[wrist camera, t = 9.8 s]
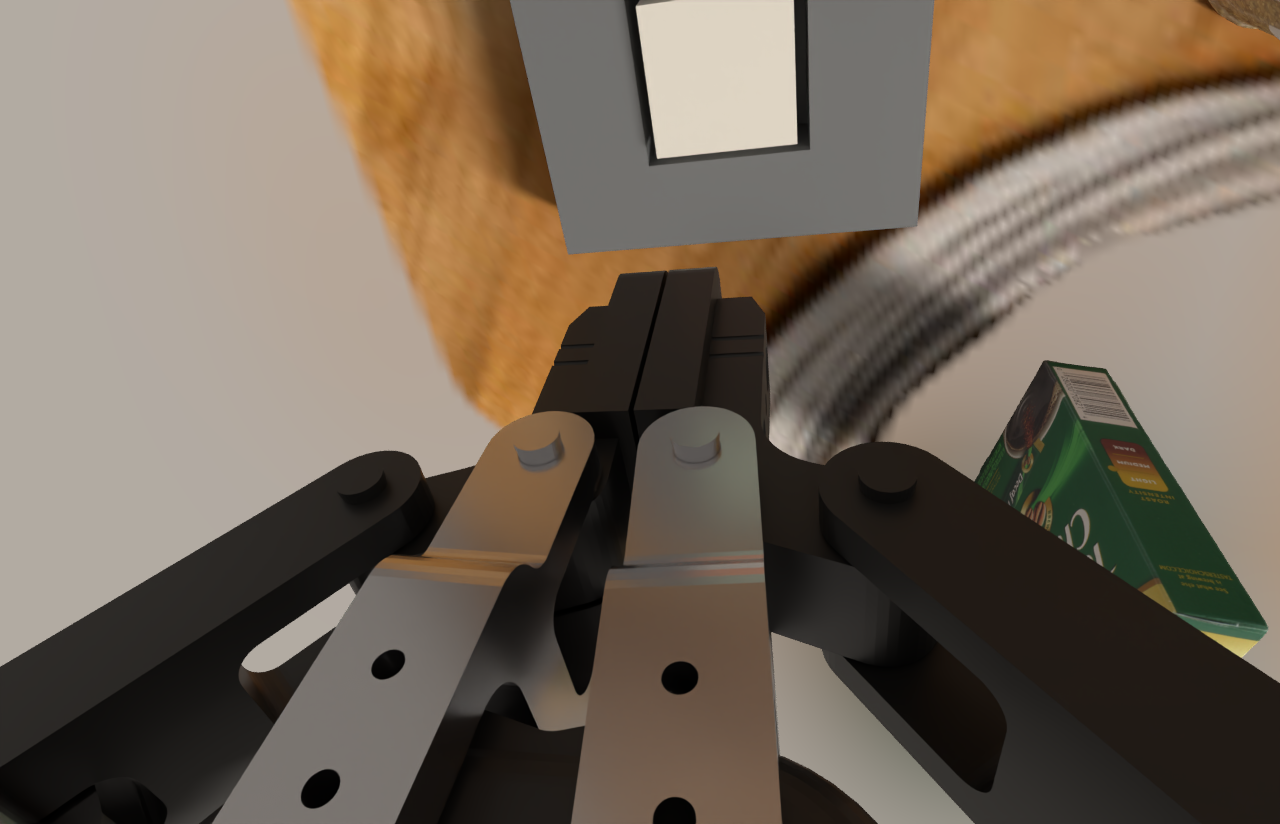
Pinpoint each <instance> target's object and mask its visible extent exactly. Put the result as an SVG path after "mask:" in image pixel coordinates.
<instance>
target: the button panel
mask: <svg viewBox="0 0 1280 824" xmlns="http://www.w3.org/2000/svg"><path fill="white" fill-rule="evenodd" d="M639 1H640V0H510V3H511V8H512V12H513V16H514V21H515V25H516V30H517V34H518V38H519V43H520V47H521V51H522V56H523V60H524V64H525V69H526V73H527V77H528V82H529V86H530V90H531V95H532V99H533V103H534V108H535V112H536V116H537V121H538V125H539V129H540V134H541V138H542V142H543V147H544V151H545V155H546V160H547V164H548V168H549V173H550V177H551V182H552V186H553V190H554V195H555V199H556V203H557V208H558V212H559V216H560V221H561V225H562V229H563V234H564V238H565V242H566V247H567V251H568V254H579V253H592V252H604V251H616V250H629V249H641V248H654V247H666V246H679V245H691V244H703V243H716V242H728V241H741V240H753V239H766V238H778V237H790V236H803V235H815V234H828V233H840V232H852V231H865V230H877V229H890V228H902V227H915V226H917V221H918V208H919V195H920V181H921V168H922V155H923V142H924V129H925V115H926V102H927V89H928V76H929V63H930V50H931V36H932V23H933V10H934V0H794V32H795V71H796V111H797V144H793V145H783V146H774V147H764V148H755V149H745V150H736V151H726V152H716V153H707V154H697V155H688V156H678V157H669V158H659V159H657V155H656V147H655V140H654V133H653V126H652V119H651V112H650V105H649V97H648V90H647V83H646V76H645V69H644V62H643V55H642V47H641V40H640V33H639V26H638V19H637V12H636V5H637V4H638V2H639Z"/></svg>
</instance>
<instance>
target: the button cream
mask: <svg viewBox="0 0 1280 824" xmlns="http://www.w3.org/2000/svg"><path fill="white" fill-rule="evenodd" d="M636 12H637V19H638V26H639V33H640V40H641V47H642V55H643V62H644V69H645V76H646V83H647V90H648V97H649V105H650V112H651V119H652V126H653V133H654V140H655V147H656V155H657V159H659V158H669V157H678V156H688V155H697V154H707V153H716V152H726V151H736V150H745V149H755V148H764V147H774V146H783V145H793V144H797V111H796V71H795V32H794V0H640V1H639V2H638V4H637V5H636Z"/></svg>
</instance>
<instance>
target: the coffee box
mask: <svg viewBox="0 0 1280 824" xmlns="http://www.w3.org/2000/svg"><path fill="white" fill-rule="evenodd" d="M974 482H975V483H977V484H978V485H980V486H981V487H983V488H984V489H986V490H987V491H989V492H990V493H992V494H993V495H995V496H996V497H998V498H999V499H1001V500H1002V501H1004V502H1006V503H1007V504H1009V505H1010V506H1012V507H1013V508H1015V509H1016V510H1018V511H1019V512H1021V513H1022V514H1024V515H1025V516H1027V517H1028V518H1030V519H1031V520H1033V521H1034V522H1036V523H1037V524H1039V525H1040V526H1042V527H1043V528H1045V529H1046V530H1048V531H1050V532H1051V533H1053V534H1054V535H1056V536H1057V537H1059V538H1060V539H1062V540H1063V541H1065V542H1066V543H1068V544H1069V545H1071V546H1072V547H1074V548H1075V549H1077V550H1078V551H1080V552H1081V553H1083V554H1084V555H1086V556H1087V557H1089V558H1090V559H1092V560H1094V561H1095V562H1097V563H1098V564H1100V565H1101V566H1103V567H1104V568H1106V569H1107V570H1109V571H1110V572H1112V573H1113V574H1115V575H1116V576H1118V577H1119V578H1121V579H1122V580H1124V581H1125V582H1127V583H1128V584H1130V585H1131V586H1133V587H1134V588H1136V589H1137V590H1139V591H1141V592H1142V593H1144V594H1145V595H1147V596H1148V597H1150V598H1151V599H1153V600H1154V601H1156V602H1157V603H1159V604H1160V605H1162V606H1163V607H1165V608H1166V609H1168V610H1169V611H1171V612H1172V613H1174V614H1175V615H1177V616H1178V617H1180V618H1181V619H1183V620H1185V621H1186V622H1188V623H1189V624H1191V625H1192V626H1194V627H1195V628H1197V629H1198V630H1200V631H1201V632H1203V633H1204V634H1206V635H1207V636H1209V637H1210V638H1212V639H1213V640H1215V641H1216V642H1218V643H1219V644H1221V645H1222V646H1224V647H1225V648H1227V649H1229V650H1230V651H1232V652H1233V653H1235V654H1236V655H1238V656H1239V657H1241V658H1242V657H1243V656H1244V655H1245V654H1246V653H1247V652H1248V651H1249V650H1250V649H1251V648H1252V647H1253V646H1254V645H1255V644H1256V643H1257V642H1258V641H1259V640H1260V639H1261V638H1262V637H1263V636H1264V635H1265V634H1266V632H1267V631H1268V627H1267V624H1266V622H1265V620H1264V619H1263V617H1262V616H1261V614H1260V612H1259V611H1258V609H1257V608H1256V606H1255V604H1254V603H1253V601H1252V599H1251V598H1250V596H1249V595H1248V593H1247V592H1246V590H1245V589H1244V587H1243V586H1242V584H1241V583H1240V581H1239V579H1238V577H1237V576H1236V574H1235V573H1234V571H1233V570H1232V568H1231V567H1230V565H1229V564H1228V562H1227V560H1226V559H1225V557H1224V555H1223V554H1222V552H1221V551H1220V549H1219V548H1218V546H1217V544H1216V543H1215V541H1214V540H1213V538H1212V537H1211V535H1210V533H1209V532H1208V530H1207V529H1206V527H1205V526H1204V524H1203V523H1202V521H1201V519H1200V518H1199V516H1198V515H1197V513H1196V511H1195V510H1194V508H1193V506H1192V505H1191V503H1190V501H1189V500H1188V499H1187V497H1186V495H1185V494H1184V492H1183V490H1182V489H1181V487H1180V486H1179V484H1178V483H1177V481H1176V479H1175V478H1174V477H1173V475H1172V474H1171V472H1170V470H1169V469H1168V467H1167V466H1166V464H1165V463H1164V461H1163V460H1162V458H1161V456H1160V454H1159V453H1158V451H1157V450H1156V448H1155V447H1154V445H1153V444H1152V442H1151V440H1150V439H1149V437H1148V435H1147V434H1146V433H1145V431H1144V429H1143V428H1142V426H1141V425H1140V423H1139V422H1138V420H1137V418H1136V417H1135V415H1134V413H1133V412H1132V410H1131V409H1130V407H1129V405H1128V403H1127V401H1126V399H1125V397H1124V396H1123V395H1122V393H1121V391H1120V389H1119V387H1118V386H1117V384H1116V383H1115V382H1114V381H1113V380H1112V378H1111V376H1110V375H1109V373H1108V371H1107V370H1106V369H1103V368H1096V367H1087V366H1079V365H1072V364H1065V363H1058V362H1053V361H1048V360H1047V361H1043V363H1042V365H1041V366H1040V368H1039V370H1038V372H1037V374H1036V376H1035V377H1034V379H1033V381H1032V382H1031V384H1030V386H1029V388H1028V389H1027V391H1026V393H1025V395H1024V396H1023V398H1022V400H1021V401H1020V404H1019V405H1018V406H1017V409H1016V411H1015V412H1014V414H1013V416H1012V417H1011V419H1010V421H1009V422H1008V424H1007V426H1006V428H1005V429H1004V431H1003V433H1002V435H1001V436H1000V438H999V440H998V442H997V443H996V445H995V447H994V449H993V450H992V452H991V454H990V456H989V457H988V458H987V459H986V461H985V463H984V465H983V466H982V468H981V470H980V473H979V475H978V476H977V478H976V480H975V481H974Z"/></svg>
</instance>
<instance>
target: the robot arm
mask: <svg viewBox="0 0 1280 824" xmlns="http://www.w3.org/2000/svg"><path fill="white" fill-rule="evenodd" d="M769 417H770V384H769V368H768V353H767V337H766V322H765V313H764V312H763V311H762V309H761V308H760V307H759V305H758V304H757V303H756V302H755V300H754V299H753V298H752V297H738V298H722V297H721V287H720V278H719V272H718V269H717V267H707V268H694V269H680V270H670V271H669V272H667V271H654V272H640V273H626V274H620V275H619V277H618V280H617V282H616V285H615V288H614V291H613V294H612V296H611V299H610V302H609V305H608V306H597V307H589V308H588V309H587V310H586V311H584V312H583V313H582V314H581V315H580V316H579V317H578V318H577V319H576V320H575V321H573V322H572V323H571V324H570V325H569V327H568V330H567V332H566V334H565V337H564V339H563V341H562V344H561V349H559V351H558V353H557V356H556V358H555V360H554V366H552V368H551V370H550V372H549V375H548V377H547V379H546V382H545V384H544V387H543V389H542V391H541V394H540V396H539V398H538V401H537V403H536V406H535V408H534V410H533V413H532V415H528V416H525V417H523V418H520V419H518V420H516V421H514V422H512V423H510V424H509V425H507V426H505V427H504V428H503V429H501V430H500V431H499V432H498V433H497V434H496V435H495V436H494V437H493V438H492V439H491V441H490V442H489V443H488V445H487V447H486V449H485V450H484V452H483V454H482V455H481V457H480V459H479V461H478V462H477V464H476V465H475V466H472V467H468V468H465V469H461V470H457V471H453V472H449V473H445V474H440V475H437V476H432V477H428V478H425V477H424V475H423V473H422V471H421V468H420V466H419V464H418V462H417V461H416V460H415V459H414V458H413V457H412V456H410V455H409V454H406V453H403V452H398V451H379V452H373V453H369V454H365V455H363V456H359V457H357V458H354V459H352V460H349V461H348V462H346V463H344V464H342V465H340V466H338V467H337V468H335V469H333V470H332V471H330V472H328V473H327V474H325V475H323V476H321V477H320V478H318V479H316V480H315V481H313V482H311V483H310V484H308V485H306V486H305V487H303V488H301V489H300V490H298V491H296V492H295V493H293V494H291V495H289V496H288V497H286V498H285V499H283V500H281V501H279V502H278V503H276V504H274V505H273V506H271V507H269V508H267V509H266V510H264V511H263V512H261V513H259V514H257V515H256V516H254V517H252V518H251V519H249V520H247V521H246V522H244V523H242V524H240V525H239V526H237V527H235V528H234V529H232V530H230V531H229V532H227V533H225V534H224V535H222V536H220V537H219V538H217V539H215V540H213V541H212V542H210V543H208V544H207V545H205V546H203V547H202V548H200V549H198V550H197V551H195V552H193V553H192V554H190V555H188V556H187V557H185V558H183V559H181V560H180V561H178V562H176V563H175V564H173V565H171V566H170V567H168V568H166V569H165V570H163V571H161V572H159V573H158V574H156V575H154V576H153V577H151V578H149V579H148V580H146V581H144V582H143V583H141V584H139V585H138V586H136V587H134V588H132V589H131V590H129V591H127V592H126V593H124V594H122V595H121V596H119V597H117V598H116V599H114V600H112V601H111V602H109V603H107V604H106V605H104V606H102V607H100V608H99V609H97V610H95V611H94V612H92V613H90V614H89V615H87V616H85V617H84V618H82V619H80V620H79V621H77V622H75V623H73V624H72V625H70V626H69V627H67V628H65V629H63V630H62V631H60V632H58V633H57V634H55V635H53V636H51V637H50V638H48V639H46V640H45V641H43V642H42V643H40V644H38V645H36V646H35V647H33V648H31V649H30V650H28V651H26V652H25V653H23V654H21V655H19V656H18V657H16V658H14V659H13V660H11V661H9V662H8V663H6V664H4V665H3V666H1V667H0V824H878V823H877V822H876V821H875V820H874V819H873V818H872V817H871V816H870V815H869V814H868V813H867V812H866V811H865V810H864V809H863V808H862V807H861V806H860V805H859V804H858V803H857V802H855V801H854V800H853V799H852V798H850V797H849V796H848V795H847V794H845V793H844V792H843V791H841V790H840V789H839V788H838V787H837V786H836V785H834V784H833V783H831V782H830V781H828V780H826V779H824V778H823V777H822V776H820V775H818V774H817V773H815V772H814V771H812V770H810V769H809V768H806V767H804V766H802V765H800V764H798V763H796V762H794V761H792V760H790V759H788V758H786V757H783V756H780V746H779V733H778V720H777V706H776V693H775V680H774V666H773V652H772V638H771V632H773V633H776V634H779V635H782V636H785V637H788V638H791V639H794V640H797V641H800V642H803V643H806V644H809V645H812V646H815V647H818V648H821V649H822V651H823V655H824V658H825V659H826V661H827V663H828V665H829V667H830V668H831V669H832V671H833V672H834V673H835V674H836V675H837V676H838V677H839V678H840V680H841V681H842V682H843V683H844V684H845V685H846V686H847V687H848V688H849V689H850V690H851V691H852V692H853V693H854V695H855V696H856V697H857V698H858V699H859V700H860V701H861V702H862V703H863V704H864V705H865V706H866V707H867V708H868V710H869V711H870V712H871V713H872V714H873V715H874V716H875V717H876V718H877V719H878V720H879V721H880V722H881V724H882V725H883V726H884V727H885V728H886V729H887V730H888V731H889V732H890V733H891V734H892V735H893V736H894V737H895V739H896V740H897V741H898V742H899V743H900V744H901V745H902V746H903V747H904V748H905V749H906V750H907V751H908V752H909V754H910V755H911V756H912V757H913V758H914V759H915V760H916V761H917V762H918V763H919V764H920V765H921V766H922V767H923V769H924V770H925V771H926V772H927V773H928V774H929V775H930V776H931V777H932V778H933V779H934V780H935V781H936V782H937V784H938V785H939V786H940V787H941V788H942V789H943V790H944V791H945V792H946V793H947V794H948V795H949V796H950V797H951V799H952V800H953V801H954V802H955V803H956V804H957V805H958V806H959V807H960V808H961V809H962V810H963V811H964V813H965V814H966V815H967V816H968V817H969V818H970V819H971V820H972V821H973V822H974V823H975V824H1280V683H1279V682H1277V681H1276V680H1274V679H1272V678H1271V677H1269V676H1268V675H1266V674H1265V673H1263V672H1262V671H1260V670H1259V669H1257V668H1256V667H1254V666H1253V665H1251V664H1250V663H1248V662H1247V661H1245V660H1244V659H1242V658H1241V657H1239V656H1238V655H1236V654H1235V653H1233V652H1232V651H1230V650H1229V649H1227V648H1225V647H1224V646H1222V645H1221V644H1219V643H1218V642H1216V641H1215V640H1213V639H1212V638H1210V637H1209V636H1207V635H1206V634H1204V633H1203V632H1201V631H1200V630H1198V629H1197V628H1195V627H1194V626H1192V625H1191V624H1189V623H1188V622H1186V621H1185V620H1183V619H1181V618H1180V617H1178V616H1177V615H1175V614H1174V613H1172V612H1171V611H1169V610H1168V609H1166V608H1165V607H1163V606H1162V605H1160V604H1159V603H1157V602H1156V601H1154V600H1153V599H1151V598H1150V597H1148V596H1147V595H1145V594H1144V593H1142V592H1141V591H1139V590H1137V589H1136V588H1134V587H1133V586H1131V585H1130V584H1128V583H1127V582H1125V581H1124V580H1122V579H1121V578H1119V577H1118V576H1116V575H1115V574H1113V573H1112V572H1110V571H1109V570H1107V569H1106V568H1104V567H1103V566H1101V565H1100V564H1098V563H1097V562H1095V561H1094V560H1092V559H1090V558H1089V557H1087V556H1086V555H1084V554H1083V553H1081V552H1080V551H1078V550H1077V549H1075V548H1074V547H1072V546H1071V545H1069V544H1068V543H1066V542H1065V541H1063V540H1062V539H1060V538H1059V537H1057V536H1056V535H1054V534H1053V533H1051V532H1050V531H1048V530H1046V529H1045V528H1043V527H1042V526H1040V525H1039V524H1037V523H1036V522H1034V521H1033V520H1031V519H1030V518H1028V517H1027V516H1025V515H1024V514H1022V513H1021V512H1019V511H1018V510H1016V509H1015V508H1013V507H1012V506H1010V505H1009V504H1007V503H1006V502H1004V501H1002V500H1001V499H999V498H998V497H996V496H995V495H993V494H992V493H990V492H989V491H987V490H986V489H984V488H983V487H981V486H980V485H978V484H977V483H975V482H974V481H972V480H971V479H969V478H968V477H966V476H965V475H963V474H961V473H960V472H958V471H957V470H955V469H954V468H952V467H951V466H949V465H948V464H946V463H945V462H943V461H941V460H940V459H938V458H937V457H936V456H934V455H932V454H930V453H929V452H927V451H924V450H922V449H919V448H917V447H913V446H909V445H906V444H900V443H895V442H871V443H865V444H860V445H856V446H853V447H850V448H848V449H845V450H843V451H841V452H840V453H838V454H836V455H835V456H833V457H832V458H831V459H830V460H829V461H828V462H827V463H826V465H820V464H816V463H811V462H807V461H804V460H800V459H797V458H795V457H792V456H790V455H788V454H786V453H784V452H782V451H781V450H779V449H778V448H777V447H775V446H774V445H773V444H772V443H771V442H770V441H769V423H770V421H769ZM348 583H349V584H350V586H351V587H352V589H353V591H354V592H355V594H356V597H355V598H354V600H353V601H352V603H351V605H350V606H349V608H348V609H347V611H346V612H345V614H344V616H343V617H342V619H341V620H340V622H339V623H338V625H337V626H336V627H335V628H333V629H332V630H330V631H329V632H328V633H326V634H325V635H323V636H322V637H321V638H319V639H318V640H316V641H315V642H313V643H312V644H311V645H309V646H308V647H306V648H305V649H304V650H302V651H301V652H299V653H298V654H296V655H295V656H293V657H292V658H291V659H289V660H288V661H286V662H285V663H283V664H282V665H280V666H279V667H277V668H275V669H273V670H270V671H266V672H259V673H257V672H251V671H248V670H247V669H245V668H244V667H243V666H242V665H241V664H242V662H243V660H244V658H245V657H246V656H247V655H248V653H249V652H250V651H251V650H252V649H253V648H255V647H256V646H257V645H259V644H260V643H261V642H263V641H264V640H266V639H267V638H269V637H270V636H272V635H273V634H275V633H276V632H278V631H279V630H281V629H282V628H284V627H285V626H287V625H288V624H289V623H291V622H292V621H294V620H295V619H297V618H298V617H300V616H301V615H303V614H304V613H306V612H307V611H308V610H310V609H311V608H313V607H314V606H316V605H317V604H319V603H320V602H322V601H323V600H325V599H326V598H328V597H329V596H331V595H332V594H334V593H335V592H336V591H338V590H340V589H341V588H342V587H344V586H345V585H347V584H348Z"/></svg>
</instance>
